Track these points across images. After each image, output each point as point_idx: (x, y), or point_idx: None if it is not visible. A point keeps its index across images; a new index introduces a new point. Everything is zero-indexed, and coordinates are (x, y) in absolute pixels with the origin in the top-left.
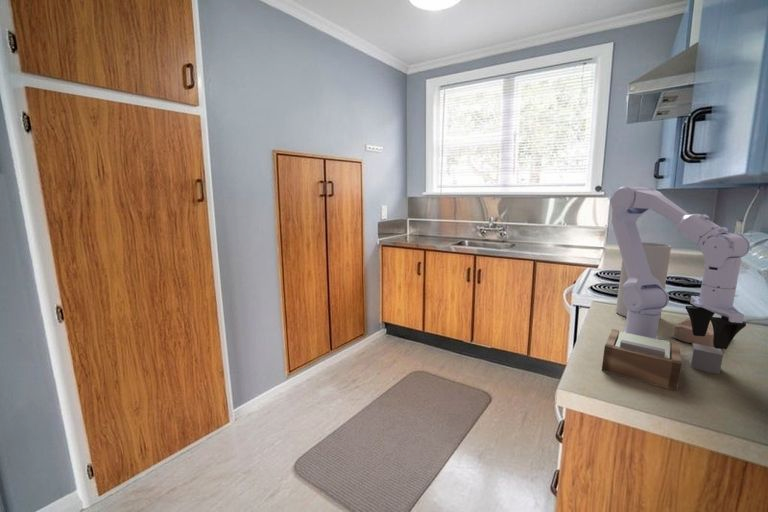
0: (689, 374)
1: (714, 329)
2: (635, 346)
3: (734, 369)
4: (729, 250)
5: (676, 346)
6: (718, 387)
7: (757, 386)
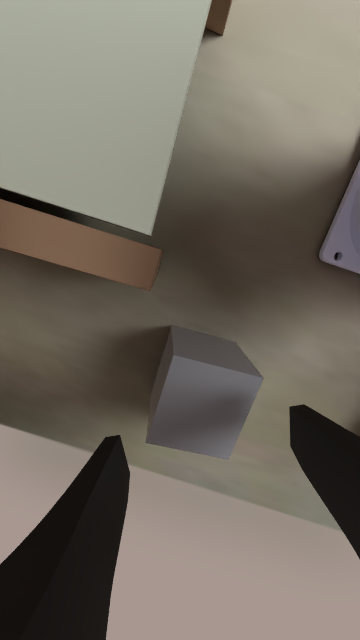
0: (100, 299)
1: (44, 557)
2: None
3: None
4: None
5: (65, 247)
6: (34, 351)
7: None
